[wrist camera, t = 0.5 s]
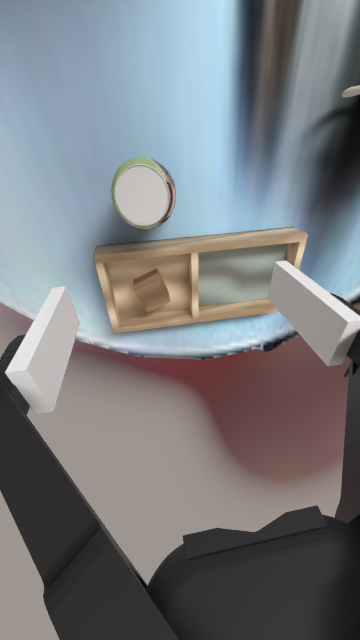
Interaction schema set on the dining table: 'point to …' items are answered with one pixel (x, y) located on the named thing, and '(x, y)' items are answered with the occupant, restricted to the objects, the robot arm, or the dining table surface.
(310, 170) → the dining table surface
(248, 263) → the walled box
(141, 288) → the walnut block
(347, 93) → the mug
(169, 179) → the beverage can
